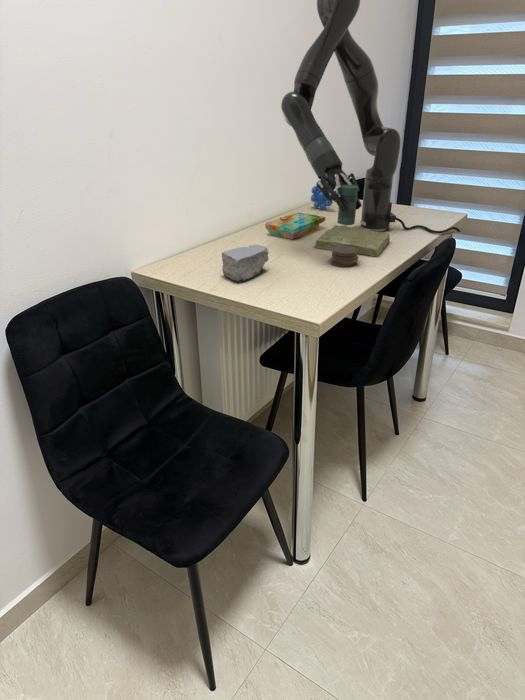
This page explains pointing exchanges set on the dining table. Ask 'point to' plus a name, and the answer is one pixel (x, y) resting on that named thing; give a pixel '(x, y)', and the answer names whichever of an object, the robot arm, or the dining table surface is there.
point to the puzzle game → (294, 225)
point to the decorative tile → (354, 239)
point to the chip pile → (344, 256)
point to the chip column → (351, 199)
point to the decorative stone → (244, 262)
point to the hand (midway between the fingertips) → (352, 209)
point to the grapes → (320, 198)
